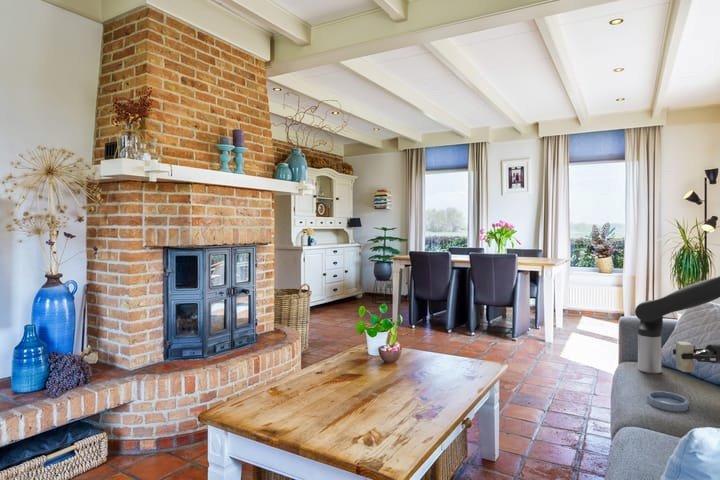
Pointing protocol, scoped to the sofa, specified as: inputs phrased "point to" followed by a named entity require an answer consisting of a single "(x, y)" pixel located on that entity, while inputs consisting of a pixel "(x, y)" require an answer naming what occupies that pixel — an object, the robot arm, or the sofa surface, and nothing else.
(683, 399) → the dish
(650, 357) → the robot arm
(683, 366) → the box
